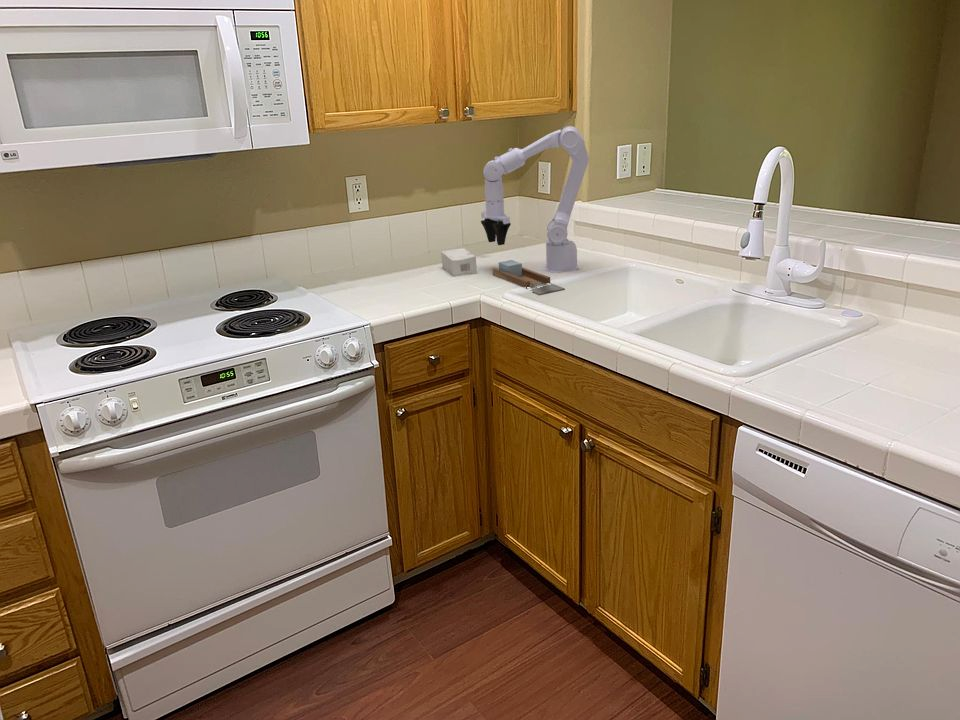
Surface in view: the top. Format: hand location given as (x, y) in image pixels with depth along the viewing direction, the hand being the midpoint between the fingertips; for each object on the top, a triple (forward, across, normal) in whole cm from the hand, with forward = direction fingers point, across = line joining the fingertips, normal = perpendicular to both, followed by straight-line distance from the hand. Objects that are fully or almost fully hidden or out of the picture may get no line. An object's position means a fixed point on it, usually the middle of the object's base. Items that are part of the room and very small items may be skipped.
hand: (496, 243), depth 233 cm
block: (+9, +8, 0) cm, 12 cm away
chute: (+9, +17, 0) cm, 20 cm away
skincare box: (+6, -2, -11) cm, 13 cm away
